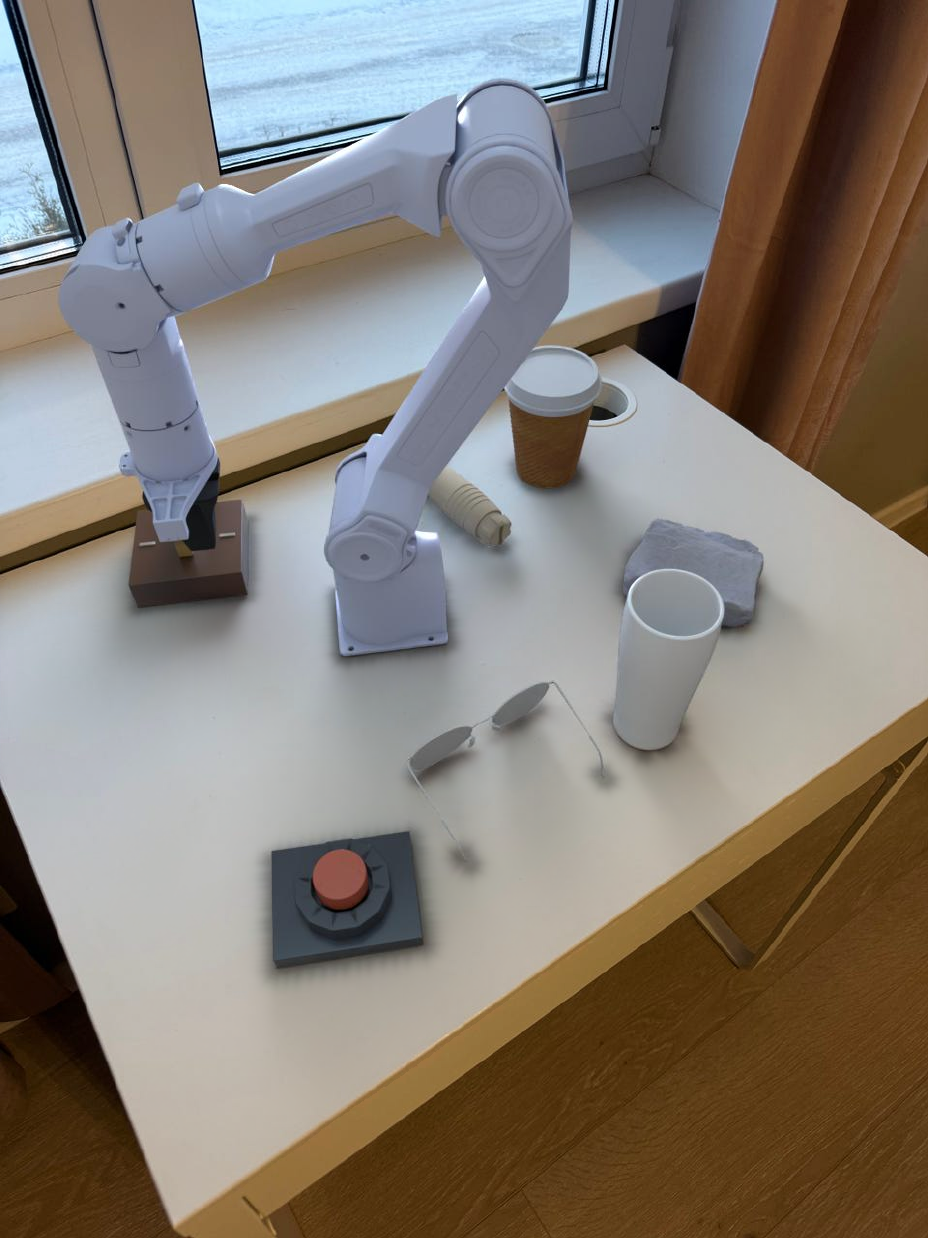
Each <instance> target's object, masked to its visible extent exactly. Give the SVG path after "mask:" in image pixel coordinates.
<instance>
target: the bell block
mask: <svg viewBox="0 0 928 1238" xmlns="http://www.w3.org/2000/svg"><path fill="white" fill-rule="evenodd" d="M341 849H343V850H349V851H352V852H354V853H356V854H358V855H359V856H360V857H361V858H362V860H363V861H364V863H365V866H366V870H367V875H368V881H369V884H368V890H367V892H366V894H365V896H364V898H363V899H362V900H361V901H360V902H359V903H358V904H357V905H355V906H353V907H351V908H349V909H345V910H335V909H331V908H329V907H327V906H325V905H324V904H323V903H322V902H321V901H320V900H319V898H318V896H317V893H316V890H315V887H314V883H313V871H314V868H315V866H316V864H317V862H318V861H319V860H320V859H321V858H322V857H323V856H324V855H326V854H327V853H329V852H331V851H334V850H341ZM270 855H271V856H270V857H271V859H270V860H271V920H272V922H271V924H272V962H273V963H274V966H275V968H276V969H281V968H288V967H294V966H301V965H306V964H312V963H319V962H320V963H321V962H326V961H332V960H338V959H344V958H351V957H352V958H353V957H358V956H363V955H369V954H376V953H377V954H378V953H383V952H388V951H395V950H401V949H408V948H414V947H420V946H424V945H425V943H424V935H423V928H422V920H421V911H420V904H419V895H418V888H417V880H416V873H415V872H416V871H415V865H414V857H413V856H414V855H413V849H412V841H411V833H410V831H409V830H407V831H406V830H405V831H399V832H393V833H385V834H379V835H373V836H372V835H371V836H365V837H358V838H352V837H351V838H342V839H336V840H329V841H326V842H324V843H317V844H311V845H304V846H297V847H291V848H283V849H276V850H271V853H270Z"/></svg>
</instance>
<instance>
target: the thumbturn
mask: <svg viewBox="0 0 928 1238" xmlns="http://www.w3.org/2000/svg"><path fill="white" fill-rule="evenodd" d="M174 544H175V547H176V550H177V553H178V555H179V557H185V556H193V552H194V551H190V549H189V548H188V547H187V546H186V545H185V543H184V542H183V541H182V540H178V541H174Z"/></svg>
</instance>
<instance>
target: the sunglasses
mask: <svg viewBox="0 0 928 1238" xmlns="http://www.w3.org/2000/svg"><path fill="white" fill-rule="evenodd" d="M551 684H553V685H554V686H555V687H556V688H557V690H558V692H559V693H560V695H561V697H563V700H564V701H565V702H566V703H567V705H568V706H569V708H570V710H571V711H572V713H573V714H574V715H575V717H576V718H577V720H578V722H579V723H580V725H581V726H582V728H583V729H584V730H585V732H586V733H587V735H588V738H589V740H591V742H592V744H593V746H594V747H595V749H596V751H597V752H598V755H599V760H600V767H601V769H600V770H601V776H602V778H603V779H604V780H606V775H605V774H606V772H605V768H604V761H603V755H602V752H601V750H600V748H599V746H598V744H597V743H596V741H595V740H594V738H593V736H592V735H591V734H590V733H589V732H588V730H587V728H586V727H585V726H584V723H583V722H582V720H581V718H580V717H579V716H578V714H577V712H576V710H575V709H574V708H573V706H572V704H571V703H570V701H569V700H568V698H567V696H566V695H565V693H564V692H563V690H562V688H561V687H560V685H559V684H558V683H557V681H555V680H553V679H552V680H550V681H544V680H543V681H539V682H535V683H533V684H531V685H529V686H527V687H524V688H523V689H521V690H520V691H517V692H516V693H515V694H513V695H512V696H510V697H509V698H508V699H506V700H505V701H504V702H503V703H502V704H501V705H500V706H499V707H498V708H497V709H496V711H495V712H494V713H493V714H491V715H489V716H488V717H486V718H485V719H483V720H481V721H478V722H476V723H474V724H473V725H471V726H470V725H468V724H467V725H458V726H455V727H451V728H450V729H447V730H445V731H443V732H440V733H439V734H437V735H435V736H433V737H432V738H430V739H428V740H427V741H425V743H423V744H422V745H420V746H419V747H418V748H417V749H416V750H415V752H414V753H413V754H412V755H409V756H408V757H406V758H405V759H404V766H405V767H406V769H407V771H408V772H409V773H410V775H411V776H412V778H413V780H414V781H415V782H416V784H417V785H418V787H419V789H420V790H421V792H422V793H423V795H424V796H425V798H426V799H427V800H428V802H429V803H430V804H431V807H432V808H433V809H434V811H435V812H436V814H437V815H438V817H439V818H440V820H441V823H442V824H443V826H444V827H445V829H446V831H448V833H449V835H450V837H451V838H452V839H453V841H454V842H455V843H456V845H457V846H458V849H459V850H460V852H461V855H462V857H463V859H464V860H465V861H466V862H468V860H467V858H466V856H465V854H464V851H463V850H462V848H461V846H460V843H459V842H458V840H457V838H456V837H455V835H454V834H453V832H452V831H451V829H450V828H449V827H448V825H447V823H446V822H445V820H444V819H443V818H442V817H441V815H440V813H439V812H438V810H437V808H436V807H435V805H434V804H433V801H431V799H430V797H429V796H428V793H427V792H426V790H425V788H423V786H422V784H421V783H420V781H419V780H418V778H417V777H416V775H415V772H413V770H414V771H421V770H425V769H427V768H429V767H432V766H434V765H435V764H438V763H439V762H440V761H442V760H444V759H445V758H447V757H449V756H450V755H451V754H452V753H454V752H455V751H456V750H457V749H458V748H460V747H461V746H462V745H463V744H464V743H466V741H467V740H468V739H469V743H468V745H467V748H468V749H471V748H472V747H473V746H474V745H475V743H476V741H477V738H478V737H477V734H475V735H474V736H473V735H472V732H473V728H475V727H477V726H479V725H481V724H483V723H485V722H487V721H489V720H490V719H491V722H492V723H491V724H492V725H491V729H493V730H494V731H497V732H501V731H502V727H501V726H503V725H507V724H509V723H511V722H514V721H516V720H519V718H521V717H523V716H525V715H526V714H527V713H529V712H530V711H532V710H533V709H534V708H535V707H537V706H538V705H539V704H540V703H541V701H542V700H543V699H544V698H545V696H546V695H547V693H548V691H549V689H550V685H551ZM470 737H471V738H470ZM408 762H409V763H408Z"/></svg>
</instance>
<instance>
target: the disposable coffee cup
mask: <svg viewBox="0 0 928 1238" xmlns="http://www.w3.org/2000/svg"><path fill="white" fill-rule="evenodd" d="M503 390H504V391H505V394H506V396H507V399H508V406H509V418H510V424H511V425H510V426H511V434H512V443H513V451H514V461H515V470H516V471H515V472H516V474H517V475H518V477H519V478H520V479H521V480H522V481H523V482H524V483H526V484H527V485H530V486H533V487H536V488H540V489H554V488H559V487H562V486H565V485H567V484H568V483H570V482H571V481H572V480H573V479H574V477H575V476H576V473H577V469H578V465H579V461H580V458H581V453H582V450H583V446H584V442H585V439H586V436H587V432H588V428H589V424H590V419H591V416H592V412H593V408H594V405H595V402H596V400H597V399H598V397H599V396H600V394H601V392H602V390H603V379H602V377H601V375H600V373H599V368H598V365H597V364H596V362H595V361H594V359H592V358H591V357H590V356H589V355H587V354H586V353H585V352H582V351H580V350H578V349H575V348H572V347H568V346H562V345H540V346H535V347H534V348H533V349H532V351H531V352H530V353H529V355H528V356H527V357H526V359H525V360H524V361H523V363H522V364H521V365H520V367H519V368H518V370H517V371H516V372H515V374H514V375H513V376H512V378H511V379H510V380H509V382H508V383H507V384H506V386H505V387H504V388H503Z"/></svg>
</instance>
